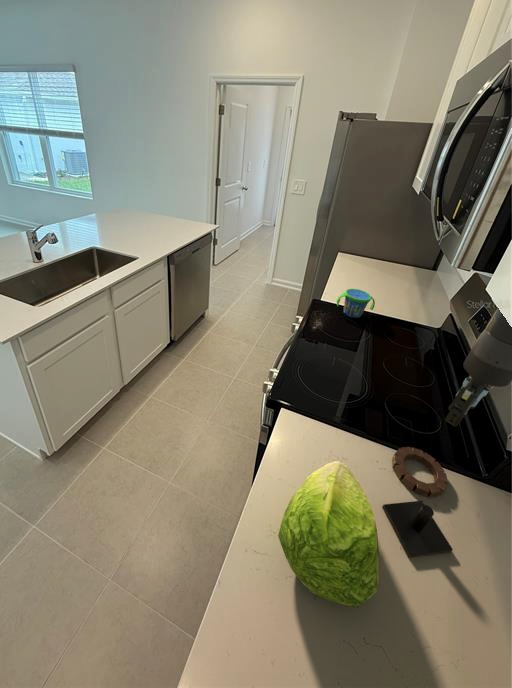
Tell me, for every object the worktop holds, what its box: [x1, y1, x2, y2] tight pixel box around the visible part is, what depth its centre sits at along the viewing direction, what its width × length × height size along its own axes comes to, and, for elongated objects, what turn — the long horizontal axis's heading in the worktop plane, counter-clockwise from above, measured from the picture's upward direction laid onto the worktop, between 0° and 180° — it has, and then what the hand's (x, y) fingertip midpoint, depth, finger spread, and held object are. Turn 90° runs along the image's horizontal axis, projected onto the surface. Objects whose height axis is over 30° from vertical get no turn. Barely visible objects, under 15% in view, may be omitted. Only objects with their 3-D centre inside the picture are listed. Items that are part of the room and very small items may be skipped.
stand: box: [381, 500, 454, 558], centre depth 61 cm, size 9×9×7 cm
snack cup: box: [336, 288, 376, 319], centre depth 134 cm, size 16×10×10 cm
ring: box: [391, 446, 449, 498], centre depth 73 cm, size 11×11×2 cm
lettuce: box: [277, 460, 380, 608], centre depth 58 cm, size 17×24×14 cm
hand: (459, 414), depth 66 cm, fingers open, 8 cm apart
